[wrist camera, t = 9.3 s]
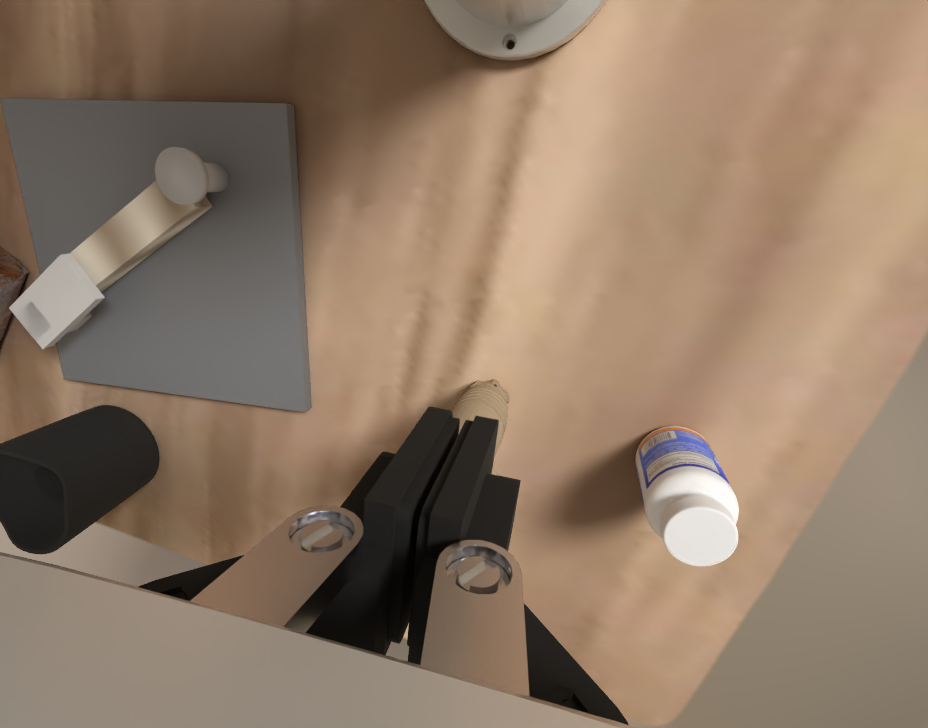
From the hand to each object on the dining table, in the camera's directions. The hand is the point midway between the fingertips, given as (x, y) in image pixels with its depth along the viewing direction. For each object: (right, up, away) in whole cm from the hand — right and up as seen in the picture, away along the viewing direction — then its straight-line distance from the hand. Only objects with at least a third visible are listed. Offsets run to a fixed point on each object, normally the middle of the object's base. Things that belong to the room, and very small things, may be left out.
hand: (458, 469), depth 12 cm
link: (-25, +12, +28) cm, 40 cm away
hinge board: (-24, +11, +30) cm, 40 cm away
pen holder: (-33, -5, +37) cm, 50 cm away
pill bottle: (+16, -4, +26) cm, 31 cm away
